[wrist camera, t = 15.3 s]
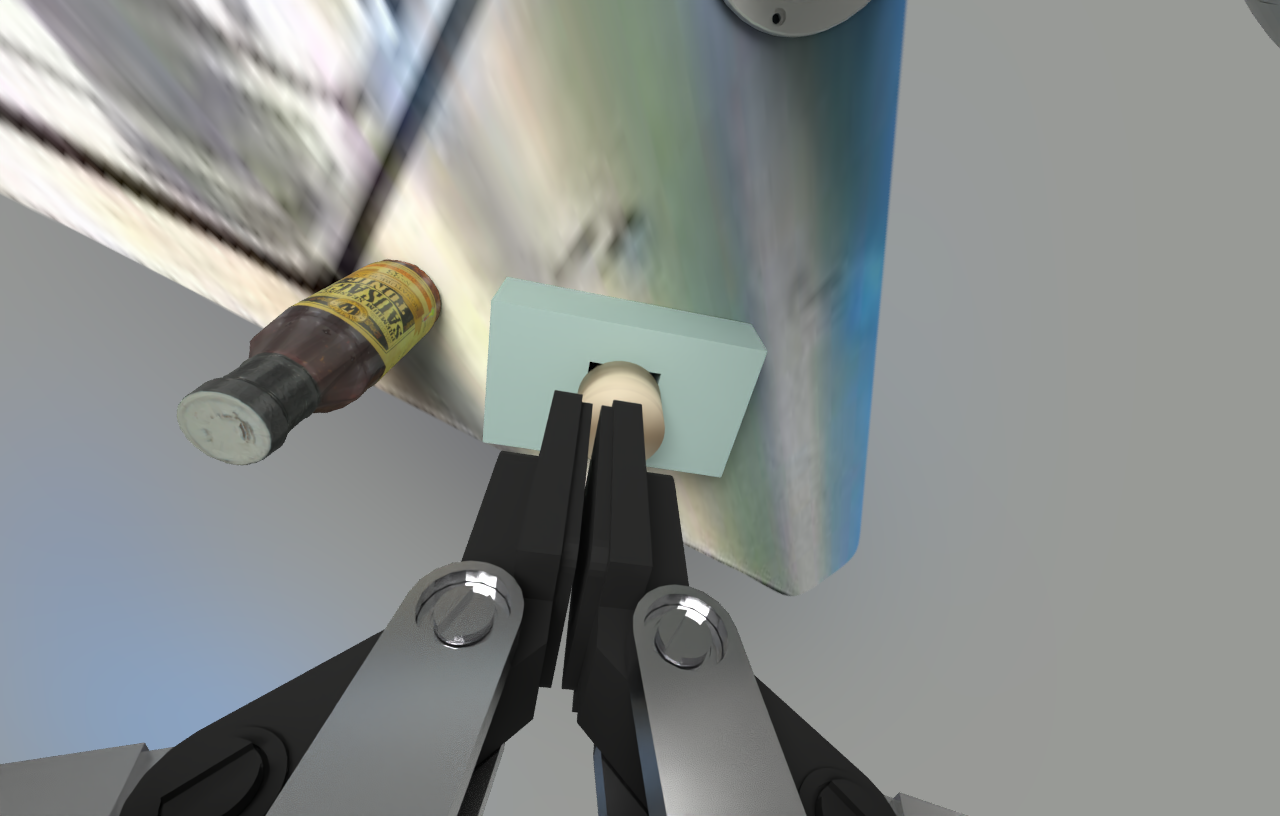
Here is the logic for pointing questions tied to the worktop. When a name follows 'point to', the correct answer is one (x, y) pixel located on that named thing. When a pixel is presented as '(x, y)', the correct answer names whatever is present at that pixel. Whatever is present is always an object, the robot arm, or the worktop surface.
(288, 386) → the sauce bottle
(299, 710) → the robot arm
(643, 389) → the pin
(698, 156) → the worktop surface
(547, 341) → the block
